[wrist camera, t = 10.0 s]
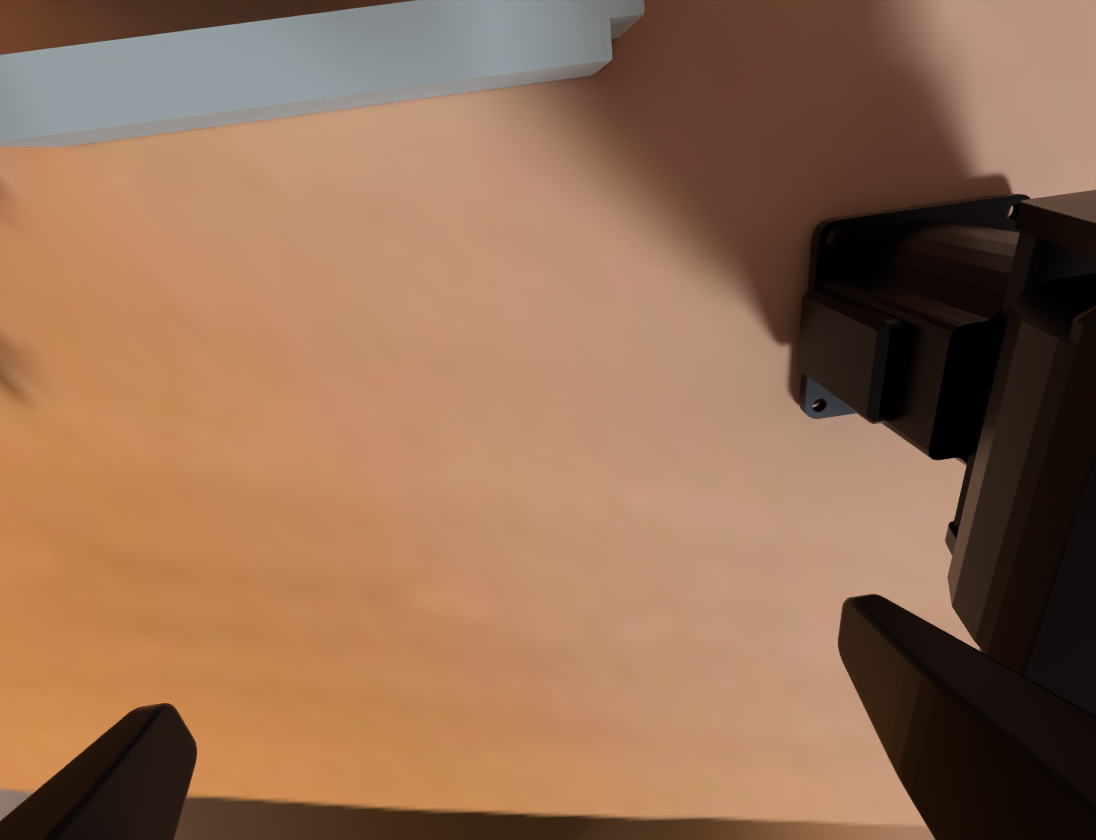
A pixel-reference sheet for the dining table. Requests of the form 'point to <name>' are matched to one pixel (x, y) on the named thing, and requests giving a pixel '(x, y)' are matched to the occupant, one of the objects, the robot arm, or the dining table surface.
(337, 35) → the corner wall
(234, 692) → the dining table surface
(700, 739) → the dining table surface
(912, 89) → the dining table surface
